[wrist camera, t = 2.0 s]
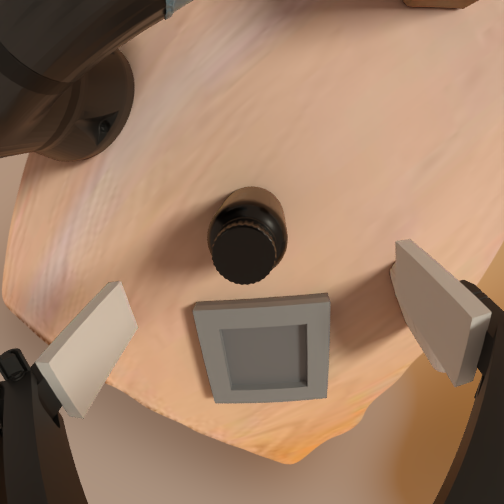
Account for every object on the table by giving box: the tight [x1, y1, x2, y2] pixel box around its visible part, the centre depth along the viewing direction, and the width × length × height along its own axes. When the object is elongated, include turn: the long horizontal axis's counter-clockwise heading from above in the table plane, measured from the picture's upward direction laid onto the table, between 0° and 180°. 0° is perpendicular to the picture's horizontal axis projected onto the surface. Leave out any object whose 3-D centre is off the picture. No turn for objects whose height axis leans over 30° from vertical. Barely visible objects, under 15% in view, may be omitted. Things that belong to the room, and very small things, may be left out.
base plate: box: [193, 293, 330, 403], centre depth 39 cm, size 16×16×2 cm
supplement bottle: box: [207, 187, 288, 285], centre depth 29 cm, size 7×7×12 cm
